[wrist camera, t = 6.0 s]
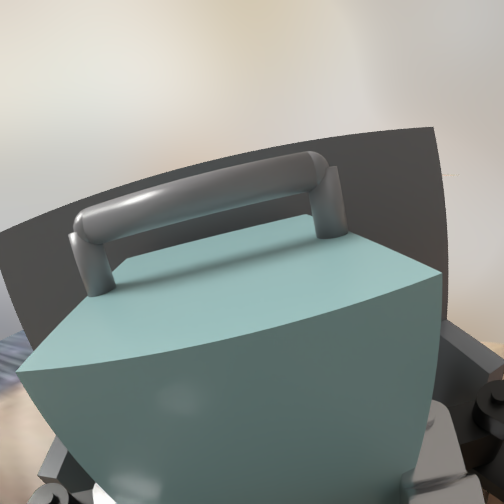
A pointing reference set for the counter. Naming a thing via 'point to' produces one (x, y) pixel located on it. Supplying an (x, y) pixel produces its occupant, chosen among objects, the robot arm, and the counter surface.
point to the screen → (356, 208)
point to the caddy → (242, 350)
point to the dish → (493, 500)
